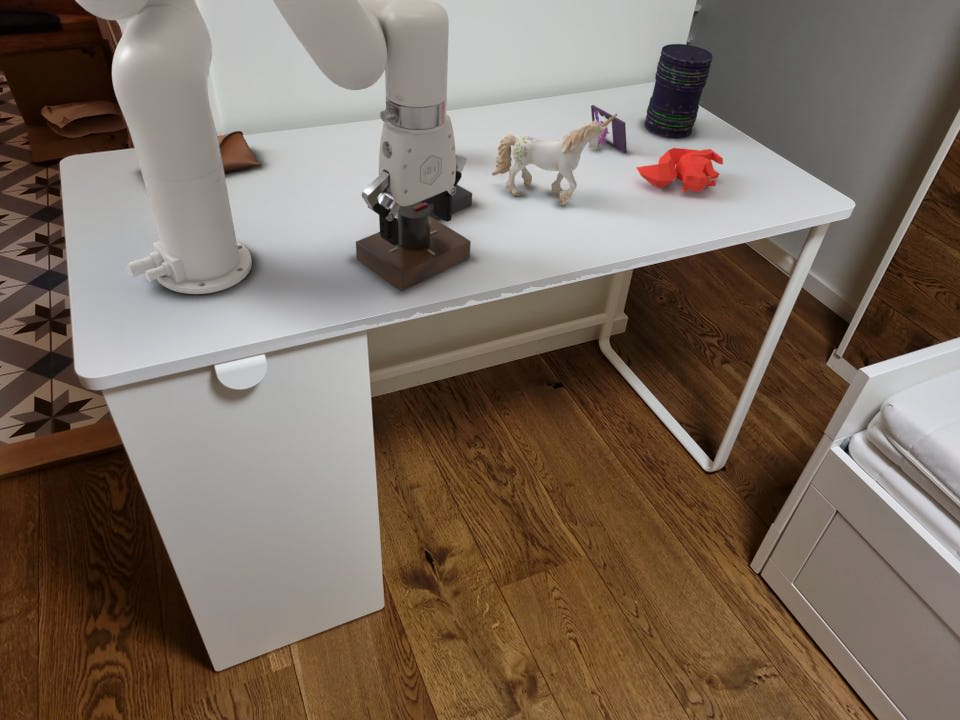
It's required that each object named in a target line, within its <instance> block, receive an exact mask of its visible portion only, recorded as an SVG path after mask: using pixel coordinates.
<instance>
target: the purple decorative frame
mask: <svg viewBox="0 0 960 720" xmlns="http://www.w3.org/2000/svg"><path fill="white" fill-rule="evenodd" d="M590 113H591V121H592V122H593V121H594V120H596V119H597V123H599V124H600V125H602V124H604V122H605V121H603V120H600V117H602V118H605V119H606V120H608V119H609V118H611V117H612V116H613V115H614V114H613V115H612V114H611V113H609V112H607V111H605V110H603V109H602V108H600V107H599V106H596V105H594V104H591V105H590ZM592 122H591V123H592ZM626 130H627V129H626V122H625V121H623V120H622V119H619V118H618V117H617V116H616V117H615V118H614V119H613V120H612V121H611V132H612V142H611V141H610V140H609V139H607V138H606V137H607V135H608V134H609V135H610V132H609V129H608V127H607V128H606V129H605V130H604V133H603V134H602V135H601V137H599V139H598V146H597V147H596V148H594V149H595V151H598V148H599V146H600V145H602V144H604V143H606V144H608V145H610V146H611V147H613V148H615V149H616V150H618V151H620V152H622V154H623V153H624V154H627V152H628V147H627V131H626Z"/></svg>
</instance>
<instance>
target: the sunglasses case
mask: <svg viewBox="0 0 960 720" xmlns="http://www.w3.org/2000/svg"><path fill="white" fill-rule="evenodd" d="M217 137H218V142H219V147H220V153H221V158H222V163H223V168H224V174H225V175H227V174H231V173H235V172H240V171H243V170H248V169H251V168H253V167H254V168H255V167H258V166H261V164H262V163H261V162H260V161H259V160H257V158H256V157H255V155H254V153H253V152H252V150H251V148H250V146H249V145H248V143H247V140H246V139H245V137H244V133H243V131H241V130H235V131H232V132H229V133H227V134H221V135H217Z"/></svg>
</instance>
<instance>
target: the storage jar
mask: <svg viewBox="0 0 960 720" xmlns="http://www.w3.org/2000/svg"><path fill="white" fill-rule="evenodd" d="M713 58H714V55H713V54H712V52H710V51H708V50H707V49H705V48H703V47H699V46H695V45H692V44H685V43H684V44H683V43H669V44H666V45H664V46H662V47H661V52H660V56H659V60H658V62H657V66H656V72H655V73H654V74H655V76H654V79H655V81H654V86H653V89H652V90H653V91H652V95H651V97H650V98H649V102H648V105H647V108H646V115H645V121H644V123H643V125H644V126H643V127H644V128H645V130H646V131H648V132H649V133H650V134H653V135H655V136H657V137H660V138H664V139H670V140H677V139H678V140H680V139H686V138H689V137H690V136H691V135H692V134H693V128H694V127H695V123H696V122H697V118H698V112H699V109H700V101H701V98H702V94H703V90H704V88H705V87H706V85H707V80H708V78H709V74H710V69H711V65H712V64H711V63H712V62H713Z"/></svg>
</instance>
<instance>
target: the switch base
mask: <svg viewBox="0 0 960 720" xmlns="http://www.w3.org/2000/svg"><path fill="white" fill-rule="evenodd" d="M455 188H456V192H455V194H454V195H452V212H451V215H452V214H454V213H457V212H460V211H461V210H463V209H466V208H469V207H471V206H472V205H473V192H471V191H469V190H468V189H465V188H464V187H462V186H460V185H459V184H457V185H456V187H455ZM433 197H434V196H432V197H430V198H428V199H425V200H423V201H420V203H425V202H426V203H427V204H428V206H429V207H430V209H431V217H433V218H434V219H436V220H437V221H439V220H441V218H439V217H438V216H436V215H434V213H433ZM392 202H393V200H392V199H390V200H389V202H388V204H387V206H386V207H388V208H389V207H390V205H391V204H392Z"/></svg>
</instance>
